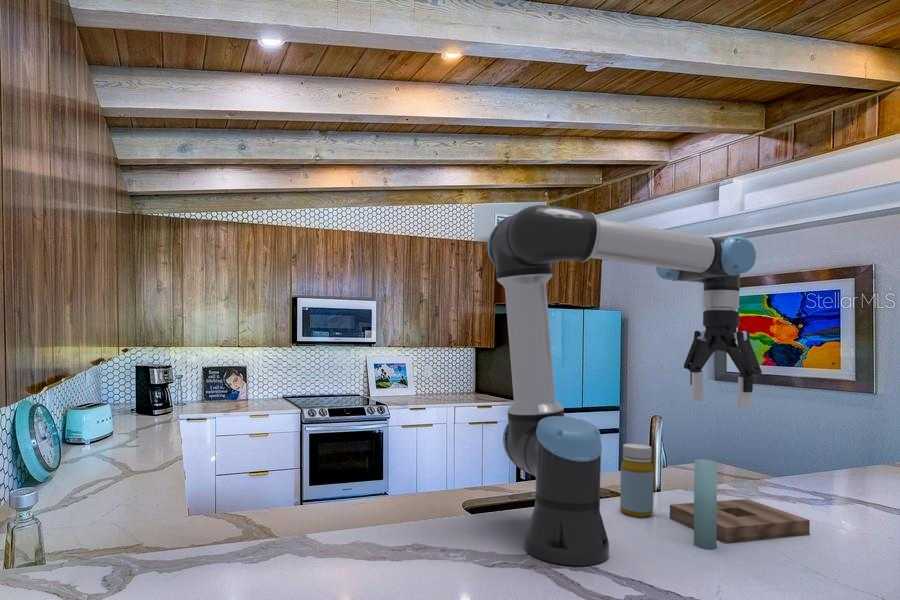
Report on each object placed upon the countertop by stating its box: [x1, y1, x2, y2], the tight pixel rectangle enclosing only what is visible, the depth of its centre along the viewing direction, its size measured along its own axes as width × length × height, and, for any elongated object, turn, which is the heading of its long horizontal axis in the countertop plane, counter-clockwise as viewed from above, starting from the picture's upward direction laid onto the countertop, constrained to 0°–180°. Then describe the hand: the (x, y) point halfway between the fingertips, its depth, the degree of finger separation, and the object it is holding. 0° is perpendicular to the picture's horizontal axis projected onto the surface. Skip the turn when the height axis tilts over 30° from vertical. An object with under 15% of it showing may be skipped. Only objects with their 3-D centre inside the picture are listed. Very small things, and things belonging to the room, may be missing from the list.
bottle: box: [619, 443, 654, 518], centre depth 133 cm, size 7×7×15 cm
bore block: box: [669, 498, 811, 544], centre depth 126 cm, size 22×16×3 cm
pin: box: [693, 458, 718, 550], centre depth 113 cm, size 4×4×16 cm
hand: (719, 403), depth 133 cm, fingers open, 13 cm apart
